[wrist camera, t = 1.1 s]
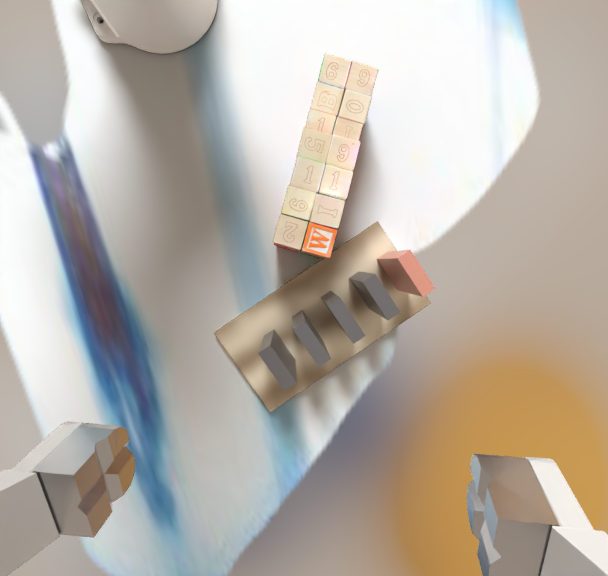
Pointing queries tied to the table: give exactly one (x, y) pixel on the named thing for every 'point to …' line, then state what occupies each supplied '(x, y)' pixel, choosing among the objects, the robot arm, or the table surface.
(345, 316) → the domino
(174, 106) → the table surface
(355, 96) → the stack of blocks
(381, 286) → the domino
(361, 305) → the domino board
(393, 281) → the domino
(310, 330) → the domino
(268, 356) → the domino
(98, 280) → the table surface
